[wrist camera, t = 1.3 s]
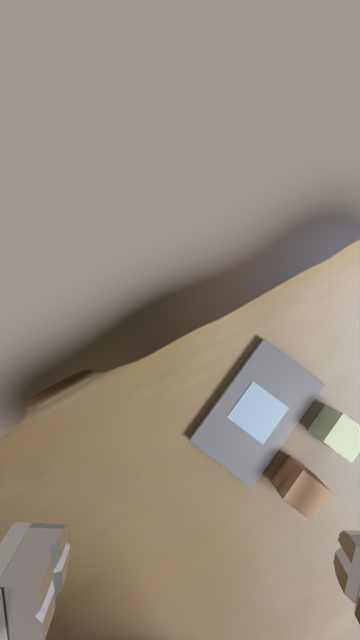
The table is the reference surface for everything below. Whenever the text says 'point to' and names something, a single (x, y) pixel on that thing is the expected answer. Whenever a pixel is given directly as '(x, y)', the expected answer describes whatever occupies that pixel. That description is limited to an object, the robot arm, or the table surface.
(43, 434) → the table surface
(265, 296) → the table surface
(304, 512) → the walnut cube
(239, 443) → the board
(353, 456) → the green cube
